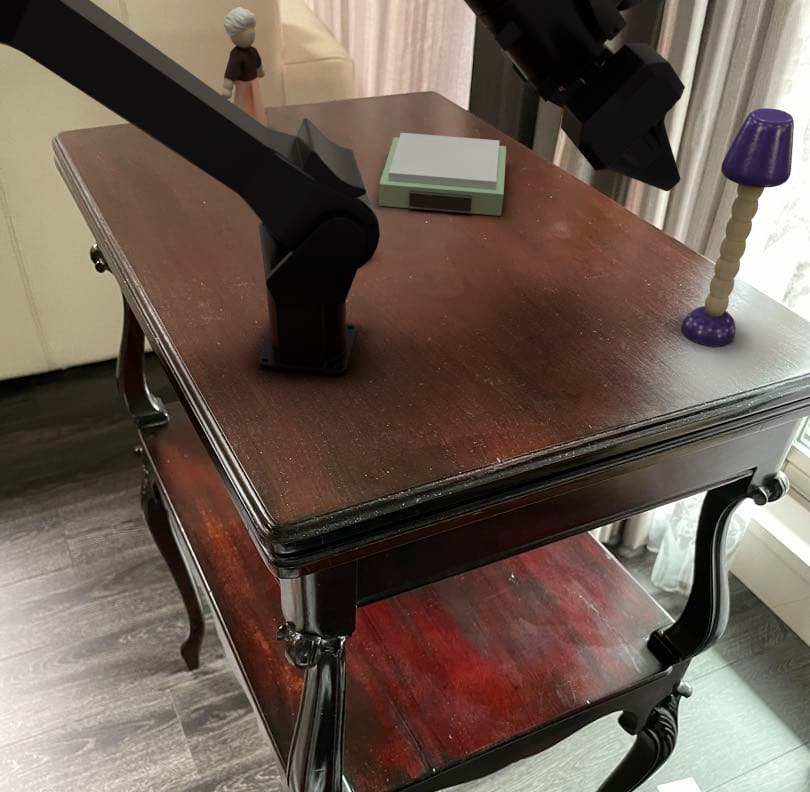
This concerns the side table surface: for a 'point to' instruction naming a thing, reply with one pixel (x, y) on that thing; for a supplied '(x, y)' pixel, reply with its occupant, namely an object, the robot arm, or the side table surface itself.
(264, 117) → the grandmother figurine
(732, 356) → the side table surface
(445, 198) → the scale
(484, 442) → the side table surface
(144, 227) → the side table surface
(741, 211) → the toy lamp
